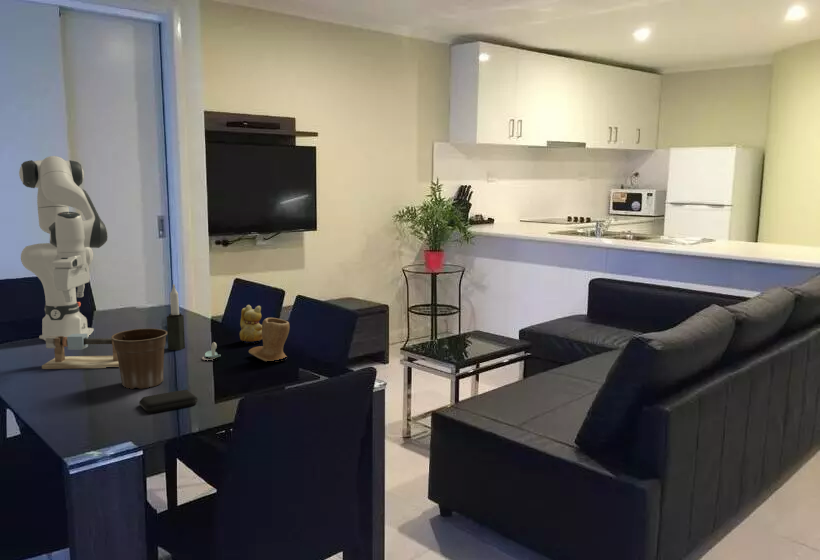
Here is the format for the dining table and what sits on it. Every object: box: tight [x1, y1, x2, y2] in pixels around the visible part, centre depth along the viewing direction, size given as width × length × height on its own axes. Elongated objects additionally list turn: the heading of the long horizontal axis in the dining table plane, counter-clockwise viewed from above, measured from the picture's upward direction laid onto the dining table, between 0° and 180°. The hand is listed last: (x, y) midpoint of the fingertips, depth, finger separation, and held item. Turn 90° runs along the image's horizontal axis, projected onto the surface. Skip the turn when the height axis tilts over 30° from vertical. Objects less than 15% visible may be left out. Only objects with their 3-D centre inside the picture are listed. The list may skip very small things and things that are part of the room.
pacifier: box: [201, 341, 221, 362], centre depth 238 cm, size 7×6×6 cm
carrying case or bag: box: [138, 389, 199, 414], centre depth 189 cm, size 11×3×15 cm
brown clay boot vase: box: [248, 317, 291, 362], centre depth 239 cm, size 15×12×15 cm
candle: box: [166, 283, 186, 351], centre depth 251 cm, size 5×5×25 cm
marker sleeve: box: [67, 334, 89, 351], centre depth 230 cm, size 5×5×5 cm
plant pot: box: [111, 328, 168, 390], centre depth 208 cm, size 16×16×16 cm
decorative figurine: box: [239, 304, 263, 342], centre depth 262 cm, size 10×8×15 cm
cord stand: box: [41, 336, 119, 370], centre depth 231 cm, size 12×26×10 cm, turn 95°
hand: (74, 299), depth 228 cm, fingers open, 8 cm apart
